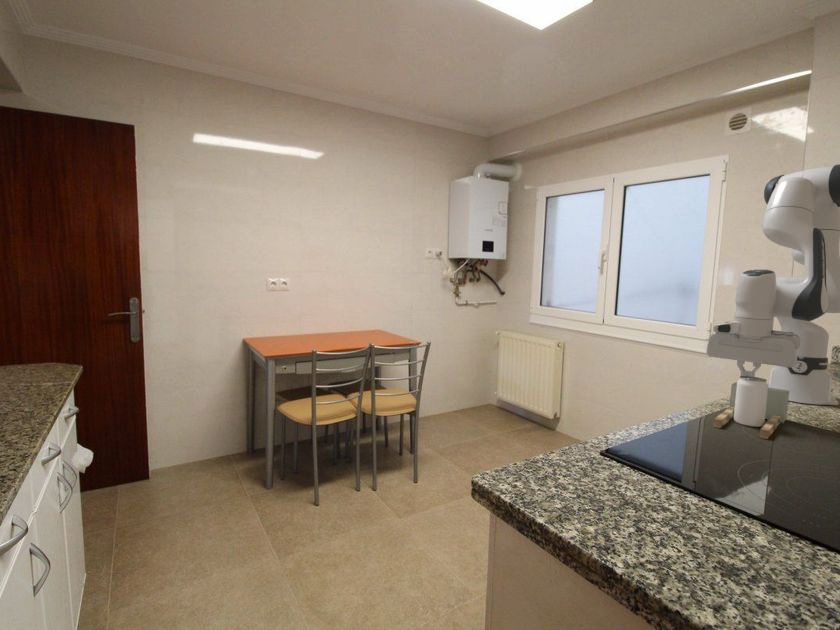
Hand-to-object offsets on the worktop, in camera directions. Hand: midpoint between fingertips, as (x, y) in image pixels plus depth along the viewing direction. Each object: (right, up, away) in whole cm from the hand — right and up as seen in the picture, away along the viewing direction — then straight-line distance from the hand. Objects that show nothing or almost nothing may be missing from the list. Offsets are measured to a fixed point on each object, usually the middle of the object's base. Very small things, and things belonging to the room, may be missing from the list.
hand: (747, 377), depth 124 cm
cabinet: (+2, -10, -1) cm, 11 cm away
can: (-6, -11, -8) cm, 15 cm away
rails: (-7, -11, -10) cm, 16 cm away
